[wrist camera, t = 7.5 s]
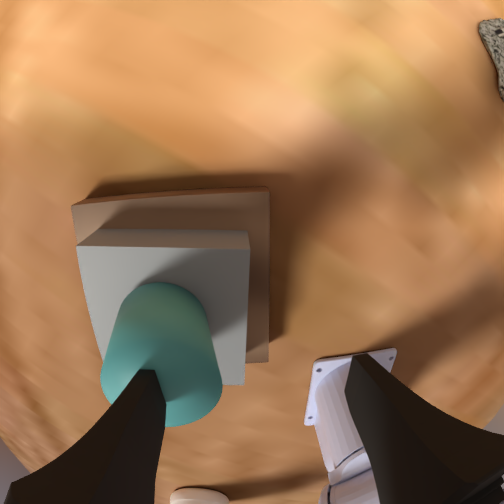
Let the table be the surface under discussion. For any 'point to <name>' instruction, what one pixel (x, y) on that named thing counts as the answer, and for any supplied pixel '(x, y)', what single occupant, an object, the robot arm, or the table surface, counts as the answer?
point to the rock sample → (495, 46)
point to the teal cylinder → (165, 350)
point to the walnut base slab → (198, 218)
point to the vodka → (197, 496)
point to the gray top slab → (173, 281)
